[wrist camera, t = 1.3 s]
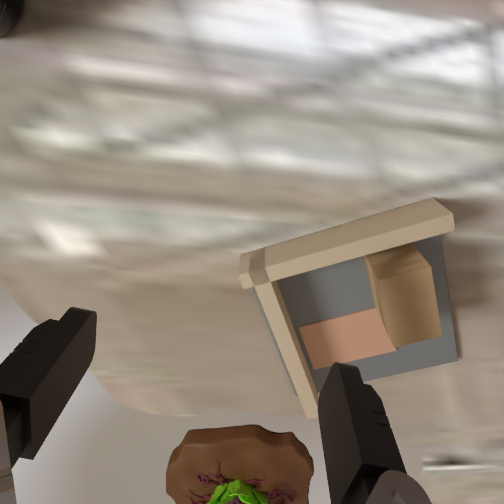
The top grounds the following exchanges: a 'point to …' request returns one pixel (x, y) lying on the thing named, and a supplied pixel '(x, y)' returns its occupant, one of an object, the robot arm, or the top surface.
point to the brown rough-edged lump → (239, 467)
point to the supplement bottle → (10, 15)
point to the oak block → (404, 294)
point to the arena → (346, 298)
